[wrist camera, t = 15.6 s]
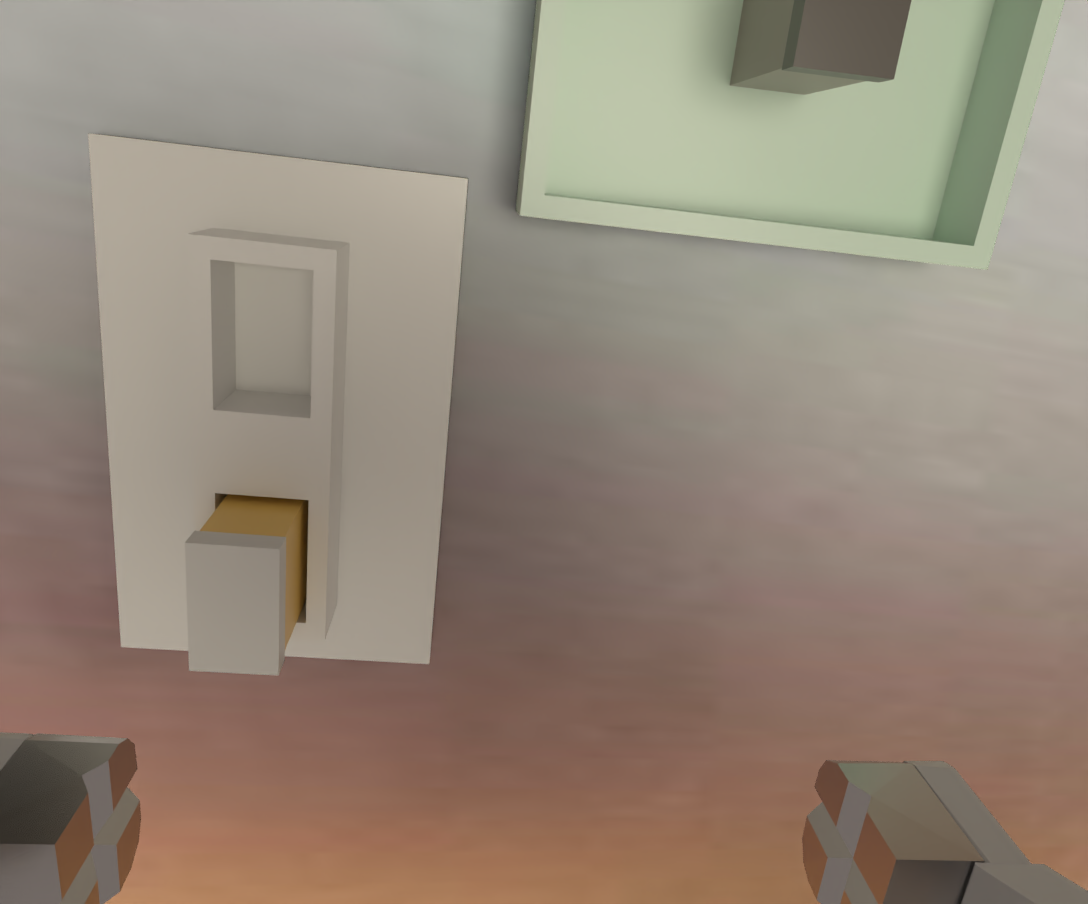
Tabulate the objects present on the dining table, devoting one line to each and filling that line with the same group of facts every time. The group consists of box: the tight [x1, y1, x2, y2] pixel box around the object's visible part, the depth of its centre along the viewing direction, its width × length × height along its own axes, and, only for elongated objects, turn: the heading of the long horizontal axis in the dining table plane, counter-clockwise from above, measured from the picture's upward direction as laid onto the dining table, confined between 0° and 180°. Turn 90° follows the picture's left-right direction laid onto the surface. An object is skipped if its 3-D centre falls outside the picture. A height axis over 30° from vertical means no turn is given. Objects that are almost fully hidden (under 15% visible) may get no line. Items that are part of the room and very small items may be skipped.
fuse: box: [185, 494, 309, 675], centre depth 32 cm, size 3×5×7 cm, turn 173°
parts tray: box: [516, 0, 1065, 270], centre depth 29 cm, size 18×16×4 cm
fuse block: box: [88, 133, 468, 664], centre depth 33 cm, size 14×22×4 cm, turn 173°
